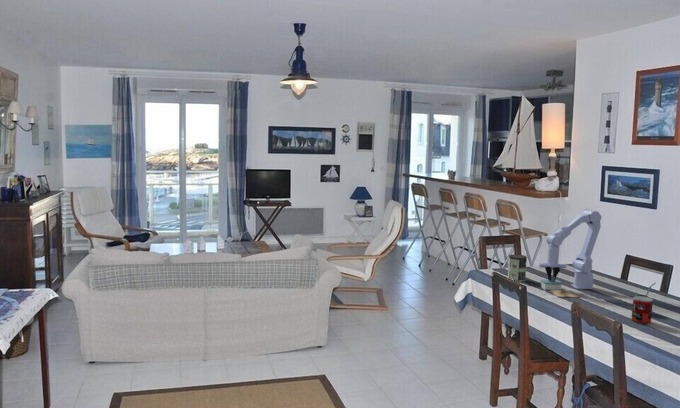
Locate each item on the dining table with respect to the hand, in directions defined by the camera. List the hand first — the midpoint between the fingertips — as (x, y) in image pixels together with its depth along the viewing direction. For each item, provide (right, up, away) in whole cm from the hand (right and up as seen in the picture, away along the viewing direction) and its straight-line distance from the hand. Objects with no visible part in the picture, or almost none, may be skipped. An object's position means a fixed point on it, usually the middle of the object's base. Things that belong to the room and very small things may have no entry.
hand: (551, 280), depth 315 cm
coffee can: (-14, -2, +19) cm, 23 cm away
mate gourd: (+29, -10, -40) cm, 50 cm away
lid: (0, -1, 0) cm, 1 cm away
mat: (+3, -6, -11) cm, 13 cm away
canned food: (+21, -12, -54) cm, 59 cm away
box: (0, -5, +1) cm, 4 cm away
